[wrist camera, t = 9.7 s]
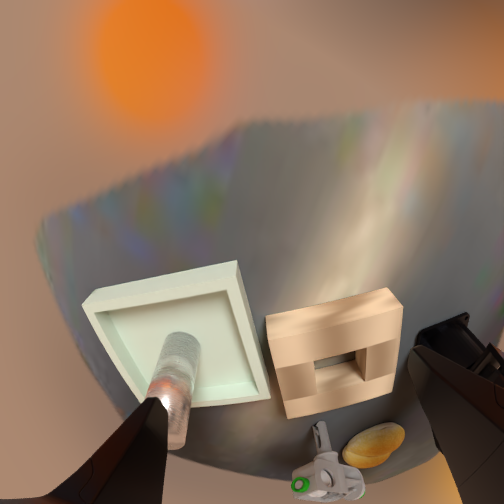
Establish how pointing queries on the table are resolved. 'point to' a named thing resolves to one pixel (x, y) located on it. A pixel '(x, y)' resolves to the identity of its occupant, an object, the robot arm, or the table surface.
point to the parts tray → (185, 320)
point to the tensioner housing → (336, 351)
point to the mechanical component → (326, 474)
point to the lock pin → (176, 382)
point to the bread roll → (373, 445)
